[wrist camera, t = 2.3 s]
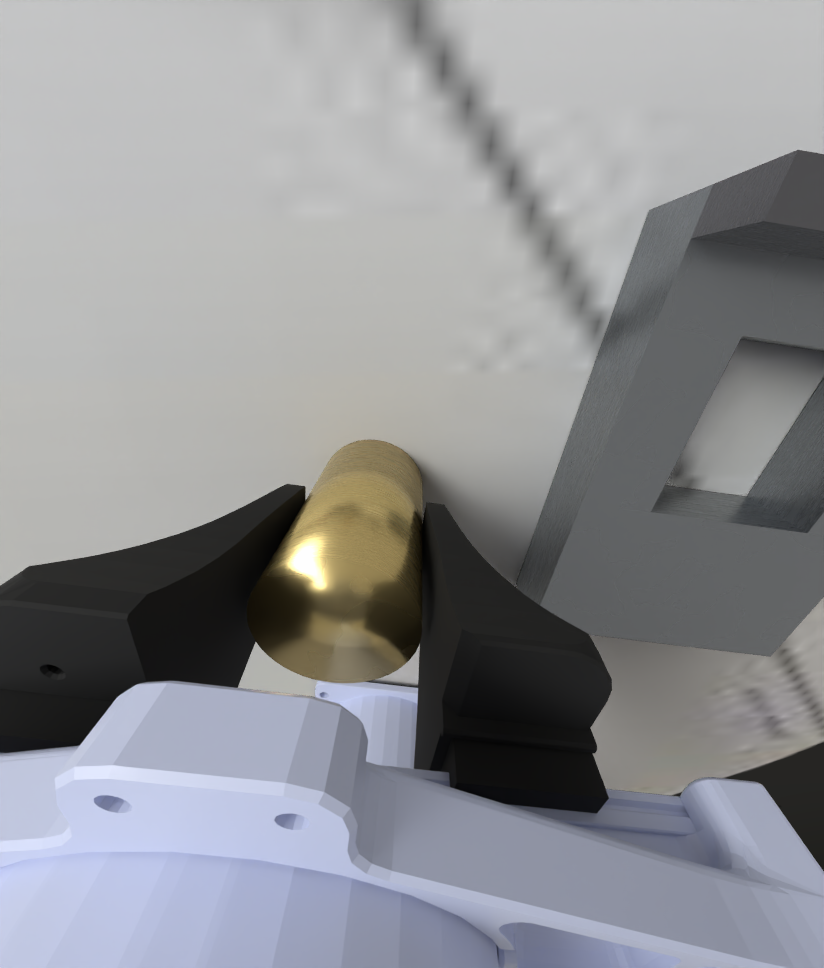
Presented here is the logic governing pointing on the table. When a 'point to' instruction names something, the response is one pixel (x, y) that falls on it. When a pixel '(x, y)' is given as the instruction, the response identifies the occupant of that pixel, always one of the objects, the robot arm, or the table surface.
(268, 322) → the table surface
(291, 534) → the brass cylinder
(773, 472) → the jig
